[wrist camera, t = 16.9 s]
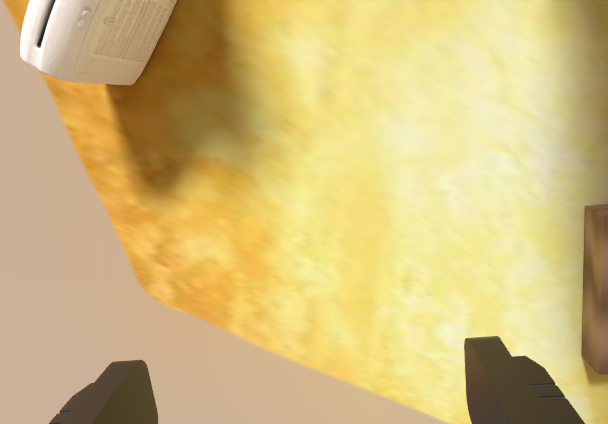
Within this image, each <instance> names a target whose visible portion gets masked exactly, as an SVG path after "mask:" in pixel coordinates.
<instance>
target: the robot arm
mask: <svg viewBox="0 0 608 424" xmlns="http://www.w3.org/2000/svg"><path fill="white" fill-rule="evenodd" d="M464 350H465V373H466V396H467V404H468V410H469V415H470V419H471V422H472V424H585V423H584V422H583V420H582V419H581V418H580V416H579V415H578V414H577V412H576V411H575V409H574V408H573V407H572V405H571V404H570V403H569V401H568V400H567V399H565V397H564V394H563V393H562V392H561V390H560V389H559V388H558V386H556V385H555V382H554V381H553V379H552V378H551V377H550V375H549V374H548V373H547V371H546V370H545V368H543V367H542V366H540V365H539V364H537V363H536V362H534V361H533V360H531V359H530V358H528V357H526V356H516V357H512V356H511V355H510V353H509V352H508V350H507V348H506V347H505V345H504V344H503V342H502V341H501V339H500V338H499V337H498V336H491V337H477V338H466V339H465V344H464ZM49 424H158V414H157V408H156V403H155V399H154V395H153V390H152V386H151V381H150V376H149V372H148V368H147V365H146V363H145V362H144V361H143V360H134V361H119V362H112V363H111V364H110V365H109V366H108V367H107V368H106V370H105V371H104V372H103V373H102V374H101V375H100V377H99V378H98V379H97V380H96V381H95V383H91V384H89V385H88V386H87V387H85V388H84V389H82V390H81V391H80V392H78V393H77V394H75V395H74V396H72V398H71V399H70V400H69V401H68V402H67V403H66V405H65V406H64V407H63V408H62V409H61V410H60V414H57V415H56V416H55V417H54V418H53V419H52V421H51V422H50V423H49Z"/></svg>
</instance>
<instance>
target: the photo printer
mask: <svg viewBox="0 0 608 424" xmlns="http://www.w3.org/2000/svg"><path fill="white" fill-rule="evenodd" d="M176 2H177V0H30V1H29V4H28V8H27V11H26V14H25V18H24V23H23V27H22V32H21V41H20V56H21V58H22V59H23V60H24V61H25V62H27V63H29V64H31V65H33V66H35V67H36V68H37V69H38V70H40V71H41V72H42V73H44V74H46V75H48V76H50V77H53V78H56V79H61V80H65V81H69V82H75V83H94V84H116V85H132V84H134V83H135V82H136V80H137V79H138V78H139V76H140V75H141V73H142V71H143V70H144V68H145V66H146V64H147V62H148V60H149V58H150V56H151V54H152V52H153V50H154V48H155V46H156V44H157V42H158V40H159V38H160V36H161V34H162V32H163V30H164V28H165V26H166V24H167V22H168V20H169V17H170V15H171V13H172V11H173V9H174V6H175V4H176Z"/></svg>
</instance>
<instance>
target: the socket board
mask: <svg viewBox="0 0 608 424" xmlns="http://www.w3.org/2000/svg"><path fill="white" fill-rule="evenodd" d="M582 356H583V357H584V359H585V360H586V361H587V362H588V363H589V364H590V365H591V366H592V367H593V368H594V370H595V371H596V372H597V373H598V374H608V204H605V205H594V206H585V227H584V272H583V317H582Z"/></svg>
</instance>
